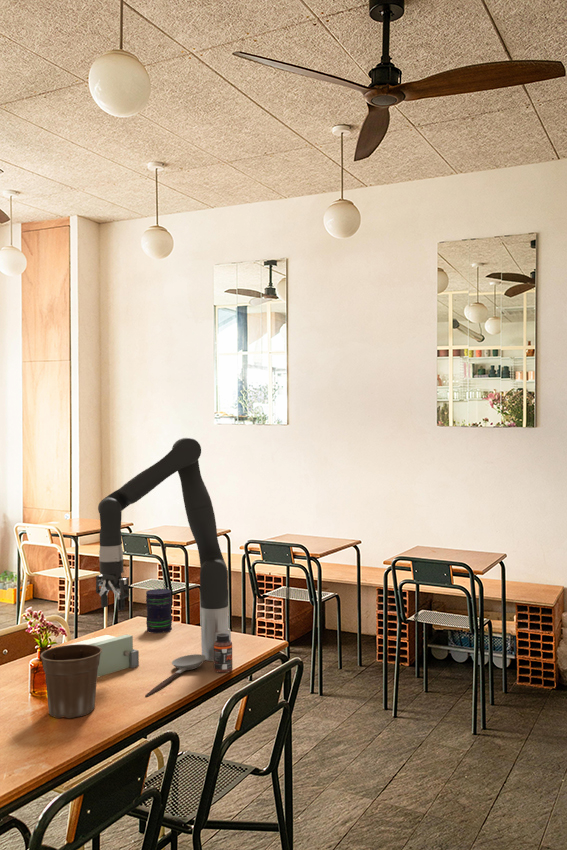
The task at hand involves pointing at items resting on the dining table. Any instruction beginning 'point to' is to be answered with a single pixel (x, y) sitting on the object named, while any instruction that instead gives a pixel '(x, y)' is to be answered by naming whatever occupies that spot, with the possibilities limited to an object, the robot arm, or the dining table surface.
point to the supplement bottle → (223, 653)
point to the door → (114, 654)
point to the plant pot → (71, 679)
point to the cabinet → (133, 655)
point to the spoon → (180, 669)
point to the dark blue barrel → (158, 610)
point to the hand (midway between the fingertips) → (112, 608)
